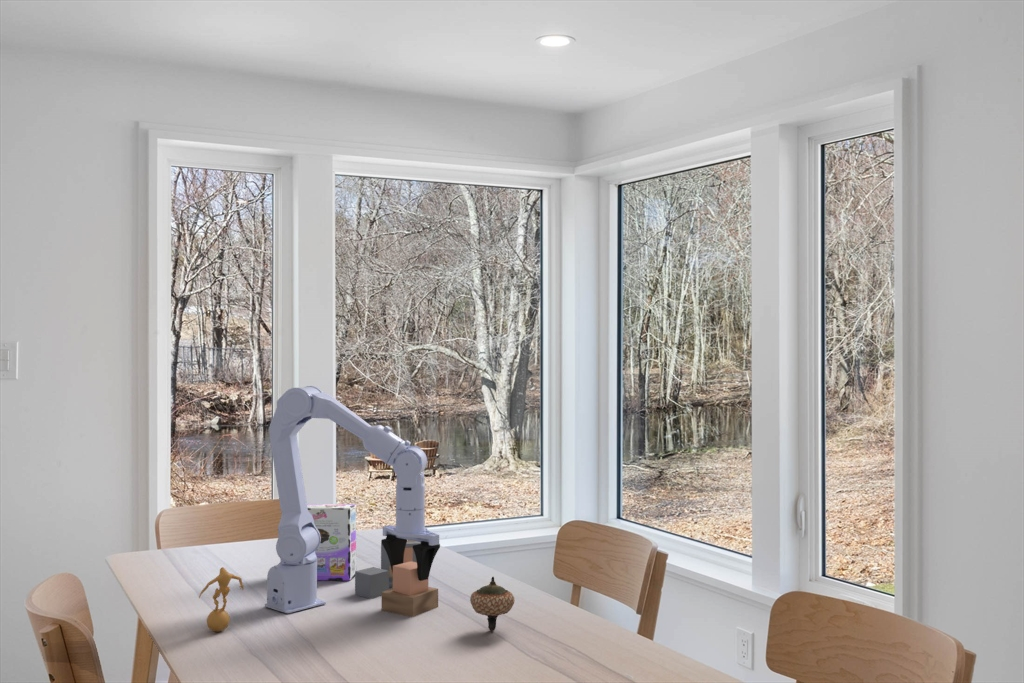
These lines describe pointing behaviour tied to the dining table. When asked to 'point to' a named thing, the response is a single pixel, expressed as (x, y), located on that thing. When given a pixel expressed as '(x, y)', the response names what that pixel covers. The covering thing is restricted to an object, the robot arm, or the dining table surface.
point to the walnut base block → (409, 602)
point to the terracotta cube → (408, 579)
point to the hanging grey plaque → (408, 556)
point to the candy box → (335, 540)
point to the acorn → (492, 602)
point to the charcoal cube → (371, 582)
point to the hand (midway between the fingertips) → (410, 576)
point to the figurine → (218, 616)
